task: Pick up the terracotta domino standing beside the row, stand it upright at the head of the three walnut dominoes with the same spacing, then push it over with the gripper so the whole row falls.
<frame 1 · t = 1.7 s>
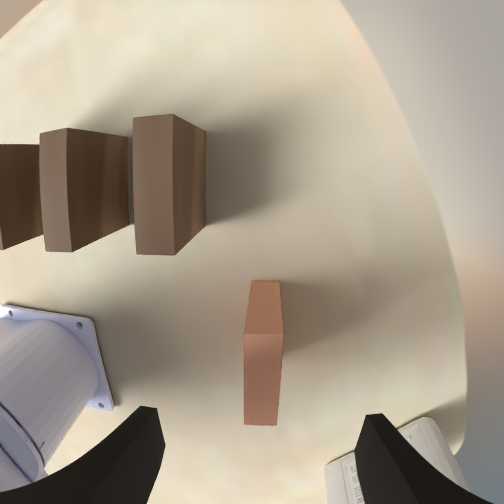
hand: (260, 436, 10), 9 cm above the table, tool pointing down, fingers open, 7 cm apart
walnut domino 2: (191, 179, 17), on the table
walnut domino 4: (55, 186, 17), on the table
walnut domino 3: (115, 181, 17), on the table
terracotta domino: (264, 321, 18), on the table
white box with text: (379, 448, 21), on the table
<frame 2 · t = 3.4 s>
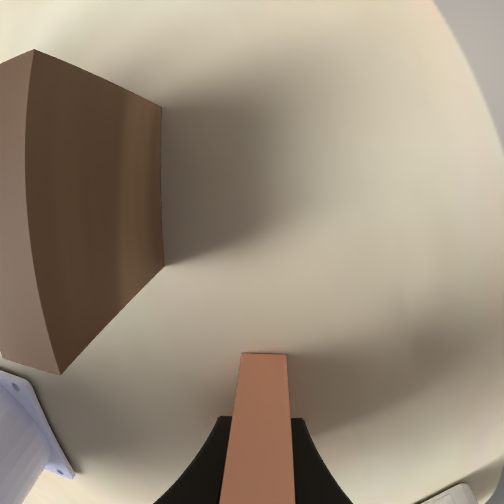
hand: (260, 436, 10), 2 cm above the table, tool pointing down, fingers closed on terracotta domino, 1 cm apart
walnut domino 2: (138, 188, 9), on the table
terracotta domino: (261, 406, 11), on the table, touching gripper
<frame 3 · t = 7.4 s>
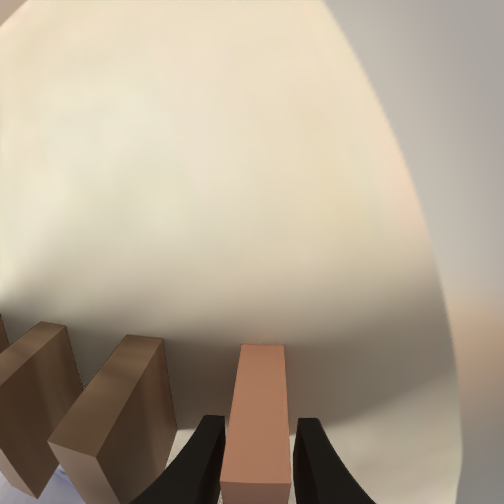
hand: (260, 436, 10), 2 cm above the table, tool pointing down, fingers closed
walnut domino 2: (153, 387, 12), on the table
walnut domino 4: (4, 353, 12), on the table
walnut domino 3: (66, 370, 12), on the table
terracotta domino: (261, 396, 12), on the table
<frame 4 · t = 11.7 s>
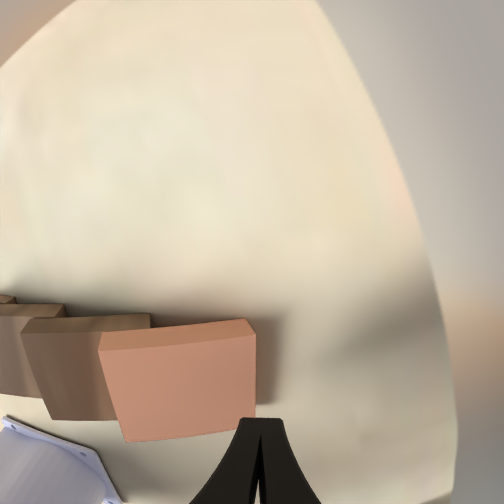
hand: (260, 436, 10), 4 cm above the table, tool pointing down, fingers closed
walnut domino 2: (157, 368, 14), point 1 cm above the table, tilted 71°, touching terracotta domino, walnut domino 3
walnut domino 3: (70, 354, 14), point 1 cm above the table, tilted 75°, touching walnut domino 2
terracotta domino: (250, 375, 13), point 1 cm above the table, tilted 70°, touching walnut domino 2
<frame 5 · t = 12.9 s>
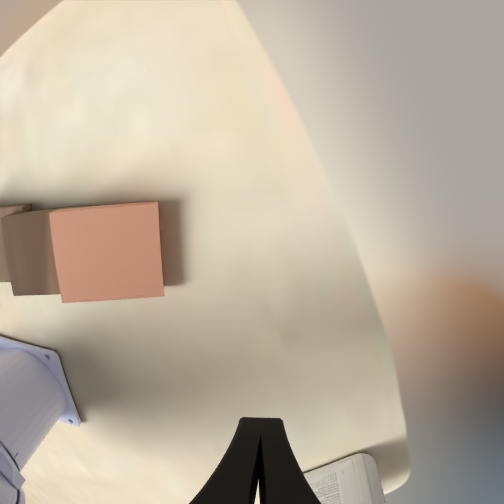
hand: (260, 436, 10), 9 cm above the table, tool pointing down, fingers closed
walnut domino 2: (92, 248, 17), point 1 cm above the table, tilted 73°, touching terracotta domino, walnut domino 3
walnut domino 3: (29, 242, 18), point 1 cm above the table, tilted 73°, touching walnut domino 2, walnut domino 4
terracotta domino: (160, 248, 17), point 1 cm above the table, tilted 70°, touching walnut domino 2
white box with text: (319, 476, 23), on the table
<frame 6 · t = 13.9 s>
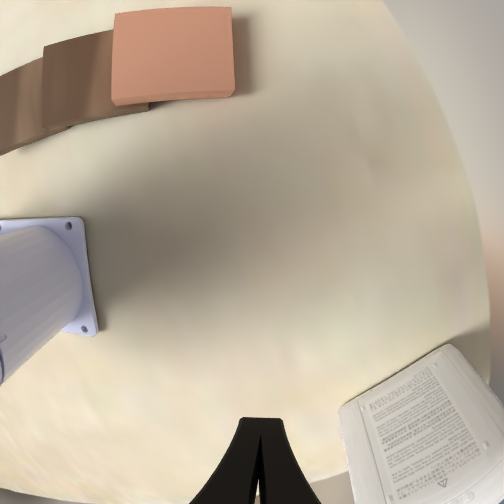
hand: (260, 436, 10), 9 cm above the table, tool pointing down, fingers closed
walnut domino 2: (146, 67, 15), point 1 cm above the table, tilted 72°, touching terracotta domino
walnut domino 3: (61, 90, 15), point 1 cm above the table, tilted 73°
terracotta domino: (230, 51, 14), point 1 cm above the table, tilted 72°, touching walnut domino 2
white box with text: (399, 388, 20), on the table
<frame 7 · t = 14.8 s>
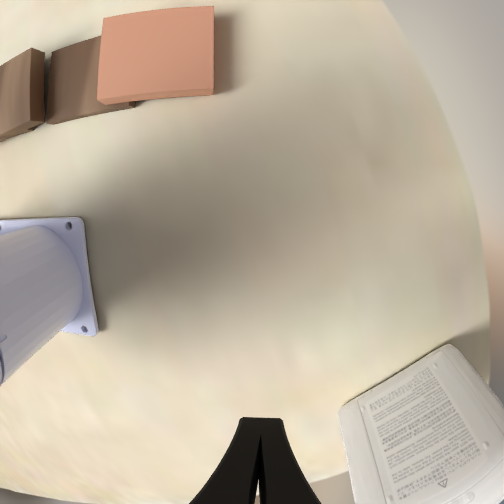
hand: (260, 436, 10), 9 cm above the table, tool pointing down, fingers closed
walnut domino 2: (135, 67, 15), on the table, tilted 90°
walnut domino 3: (37, 84, 14), point 2 cm above the table, tilted 90°, touching walnut domino 4
terracotta domino: (213, 49, 14), point 1 cm above the table, tilted 79°
white box with text: (399, 388, 20), on the table
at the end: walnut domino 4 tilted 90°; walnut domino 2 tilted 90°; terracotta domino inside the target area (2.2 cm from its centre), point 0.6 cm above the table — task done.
